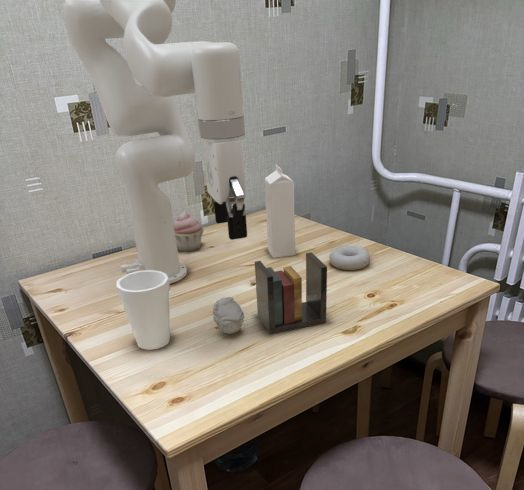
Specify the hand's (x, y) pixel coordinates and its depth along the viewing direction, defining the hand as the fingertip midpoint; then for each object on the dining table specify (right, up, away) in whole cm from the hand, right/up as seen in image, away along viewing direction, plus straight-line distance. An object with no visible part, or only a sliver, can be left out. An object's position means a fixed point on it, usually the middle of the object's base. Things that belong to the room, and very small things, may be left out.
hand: (231, 229), depth 95 cm
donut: (+27, -1, +35) cm, 44 cm away
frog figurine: (-1, -18, +9) cm, 21 cm away
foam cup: (-16, -20, +8) cm, 27 cm away
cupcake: (-14, +6, +49) cm, 52 cm away
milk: (+11, +4, +43) cm, 45 cm away
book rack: (+12, -16, +12) cm, 23 cm away
